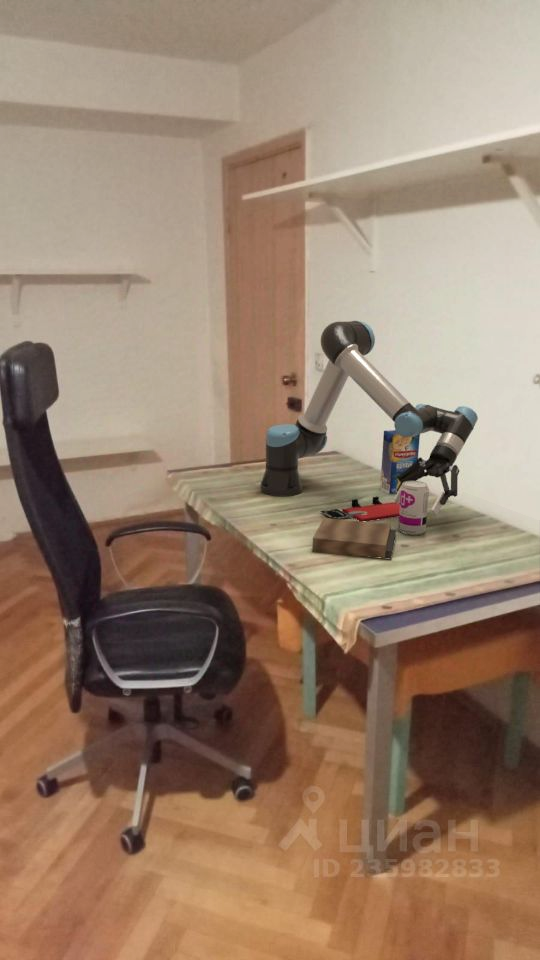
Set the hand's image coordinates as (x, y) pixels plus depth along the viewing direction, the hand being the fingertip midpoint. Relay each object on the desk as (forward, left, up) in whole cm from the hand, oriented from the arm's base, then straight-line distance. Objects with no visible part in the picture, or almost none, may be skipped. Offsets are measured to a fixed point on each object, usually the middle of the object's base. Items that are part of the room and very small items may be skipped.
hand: (414, 507), depth 200 cm
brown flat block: (-16, -15, -8) cm, 24 cm away
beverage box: (-7, +45, -8) cm, 46 cm away
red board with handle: (-15, +15, -9) cm, 23 cm away
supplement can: (0, +1, -8) cm, 8 cm away
